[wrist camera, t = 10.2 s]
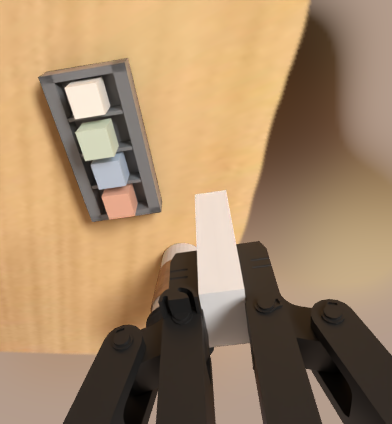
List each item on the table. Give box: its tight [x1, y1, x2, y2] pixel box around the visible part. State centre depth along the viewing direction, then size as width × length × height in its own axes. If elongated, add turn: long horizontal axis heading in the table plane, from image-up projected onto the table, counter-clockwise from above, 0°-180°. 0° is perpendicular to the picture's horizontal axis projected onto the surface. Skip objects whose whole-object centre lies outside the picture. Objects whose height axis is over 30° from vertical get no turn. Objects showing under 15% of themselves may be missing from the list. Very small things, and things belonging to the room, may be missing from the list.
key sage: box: [75, 118, 119, 161], centre depth 39 cm, size 3×3×3 cm
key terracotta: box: [102, 183, 138, 220], centre depth 45 cm, size 3×3×3 cm
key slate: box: [91, 151, 129, 190], centre depth 42 cm, size 3×3×3 cm
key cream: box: [65, 76, 110, 119], centre depth 38 cm, size 3×3×3 cm
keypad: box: [38, 58, 162, 222], centre depth 42 cm, size 18×9×2 cm, turn 9°
